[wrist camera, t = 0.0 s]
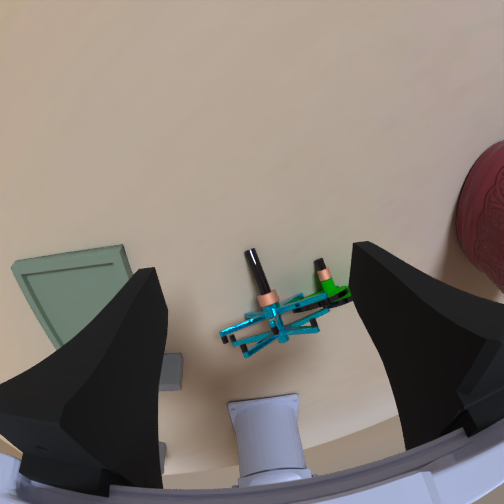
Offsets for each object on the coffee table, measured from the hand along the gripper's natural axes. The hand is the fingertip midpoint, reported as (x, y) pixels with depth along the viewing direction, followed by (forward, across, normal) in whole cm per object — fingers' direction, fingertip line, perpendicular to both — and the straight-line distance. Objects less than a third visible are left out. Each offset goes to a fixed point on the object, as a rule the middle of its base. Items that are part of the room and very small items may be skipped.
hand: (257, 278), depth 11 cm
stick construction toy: (+10, -3, +8) cm, 13 cm away
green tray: (+10, +14, +8) cm, 19 cm away
